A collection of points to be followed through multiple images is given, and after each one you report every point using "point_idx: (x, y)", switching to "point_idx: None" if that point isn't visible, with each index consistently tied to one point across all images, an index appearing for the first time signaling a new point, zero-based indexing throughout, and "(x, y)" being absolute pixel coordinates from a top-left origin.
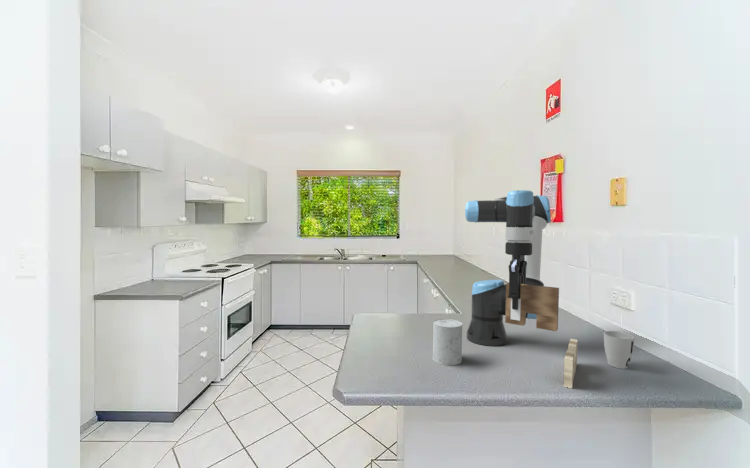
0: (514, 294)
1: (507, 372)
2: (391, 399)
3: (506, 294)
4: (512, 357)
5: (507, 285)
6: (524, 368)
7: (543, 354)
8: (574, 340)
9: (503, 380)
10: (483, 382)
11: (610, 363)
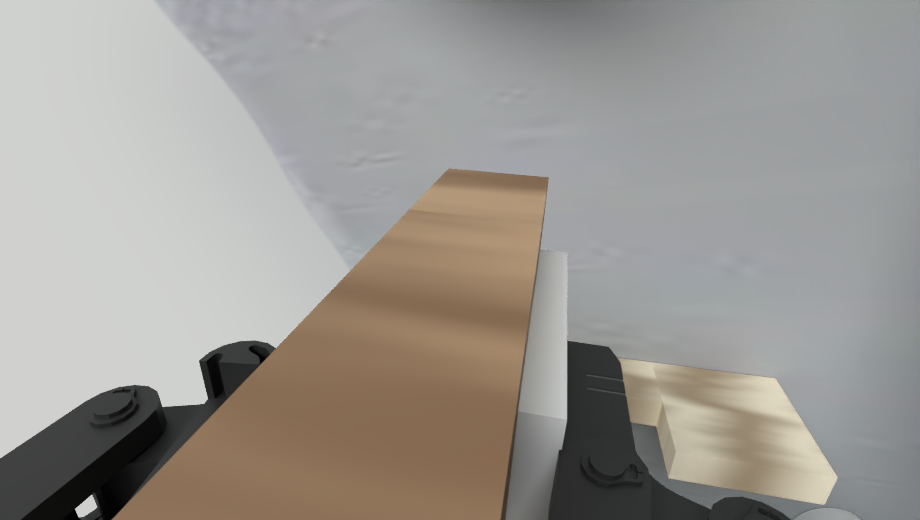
0: (95, 491)
1: (491, 128)
2: None
3: (307, 326)
4: (740, 114)
5: (157, 516)
6: (590, 196)
7: (877, 270)
8: (805, 490)
9: (391, 128)
10: (314, 50)
11: (812, 517)
